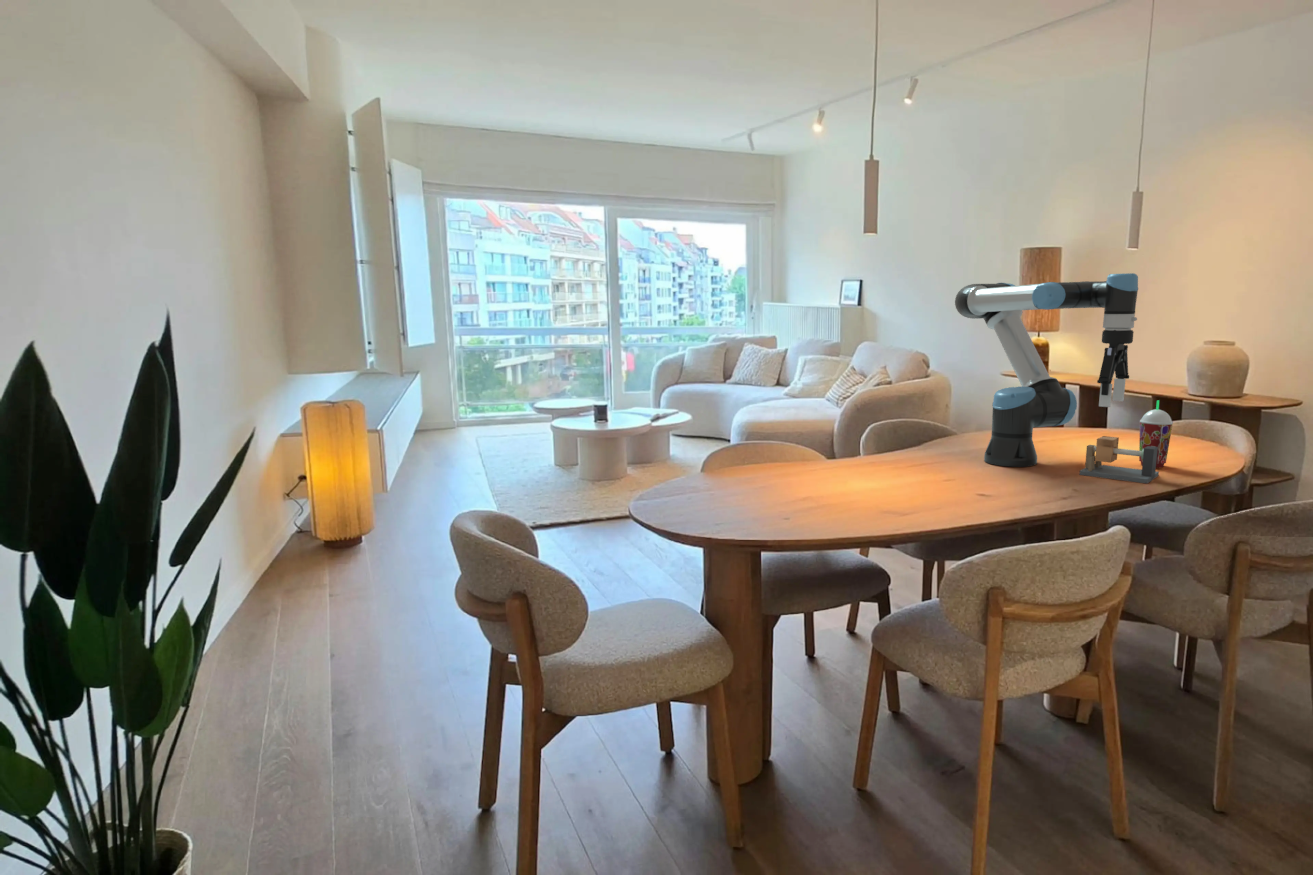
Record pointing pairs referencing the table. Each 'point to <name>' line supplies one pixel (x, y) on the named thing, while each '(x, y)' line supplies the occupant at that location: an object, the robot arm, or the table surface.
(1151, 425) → the smoothie
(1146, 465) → the peg stand base
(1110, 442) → the sleeve
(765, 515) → the table surface
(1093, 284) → the robot arm
